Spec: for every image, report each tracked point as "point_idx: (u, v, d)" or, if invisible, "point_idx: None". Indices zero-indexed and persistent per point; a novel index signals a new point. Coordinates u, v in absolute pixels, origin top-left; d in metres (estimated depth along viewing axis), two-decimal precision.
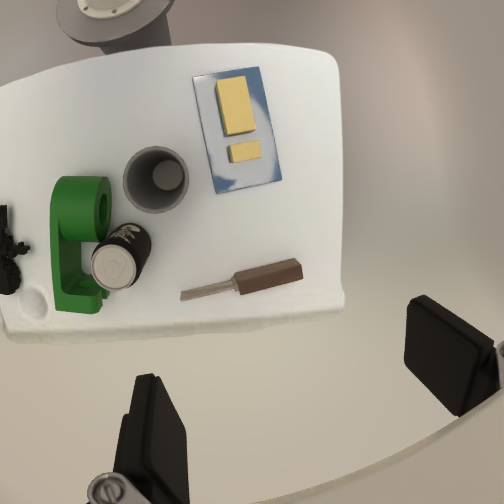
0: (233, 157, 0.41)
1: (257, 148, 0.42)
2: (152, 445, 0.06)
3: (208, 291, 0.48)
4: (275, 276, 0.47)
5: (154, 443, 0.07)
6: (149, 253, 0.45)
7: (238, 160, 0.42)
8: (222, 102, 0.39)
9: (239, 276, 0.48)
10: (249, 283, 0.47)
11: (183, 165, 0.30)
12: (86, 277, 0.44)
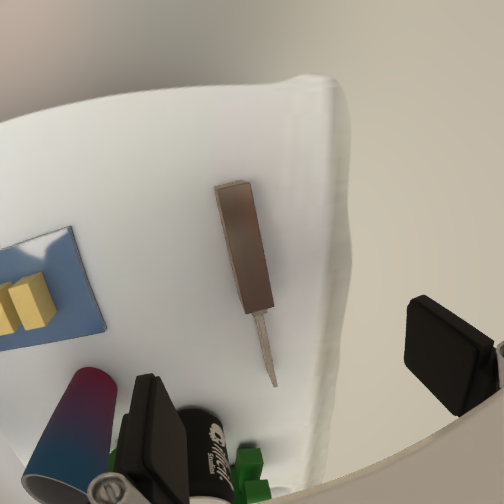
0: (39, 326, 0.21)
1: (18, 290, 0.20)
2: (152, 445, 0.06)
3: (264, 349, 0.27)
4: (240, 243, 0.23)
5: (154, 443, 0.07)
6: (201, 419, 0.29)
7: (40, 319, 0.21)
8: None
9: (240, 299, 0.26)
10: (251, 293, 0.24)
11: (30, 475, 0.13)
12: (237, 469, 0.32)
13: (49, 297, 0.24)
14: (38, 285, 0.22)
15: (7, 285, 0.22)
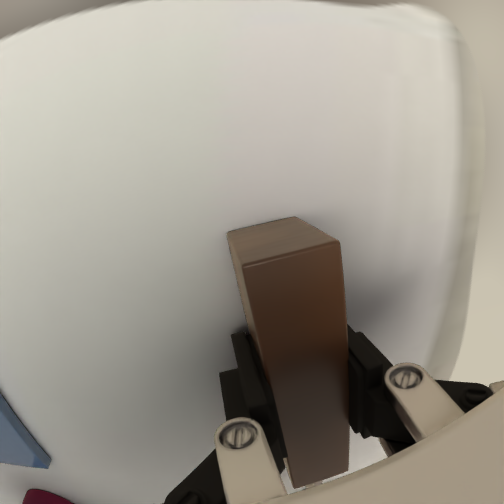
0: None
1: None
2: None
3: None
4: (298, 395, 0.08)
5: None
6: None
7: None
8: None
9: None
10: (311, 464, 0.09)
11: None
12: None
13: None
14: None
15: None
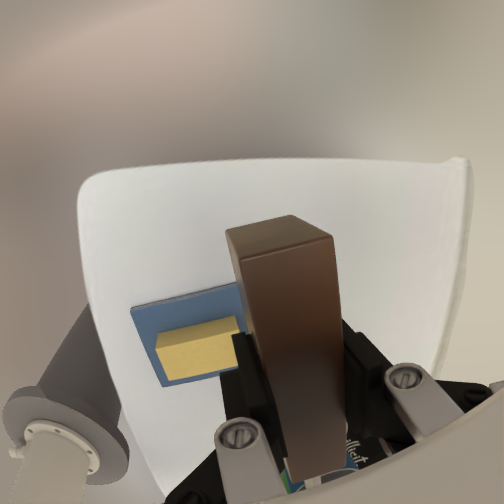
0: None
1: None
2: (270, 387, 0.08)
3: None
4: (295, 387, 0.09)
5: (269, 386, 0.08)
6: None
7: None
8: (201, 372, 0.29)
9: None
10: (309, 459, 0.10)
11: None
12: None
13: None
14: None
15: None
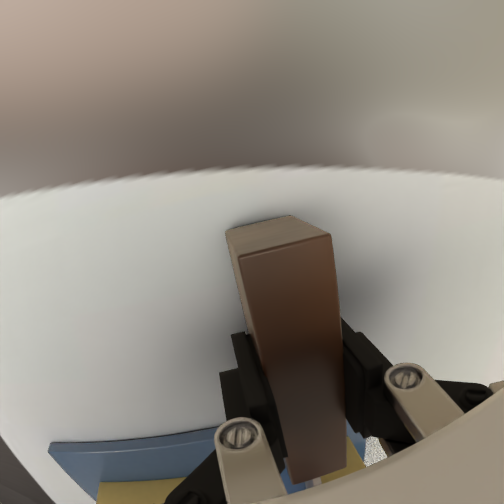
0: None
1: None
2: (270, 387, 0.08)
3: None
4: (294, 386, 0.09)
5: None
6: None
7: None
8: None
9: None
10: (309, 459, 0.10)
11: None
12: None
13: None
14: None
15: None
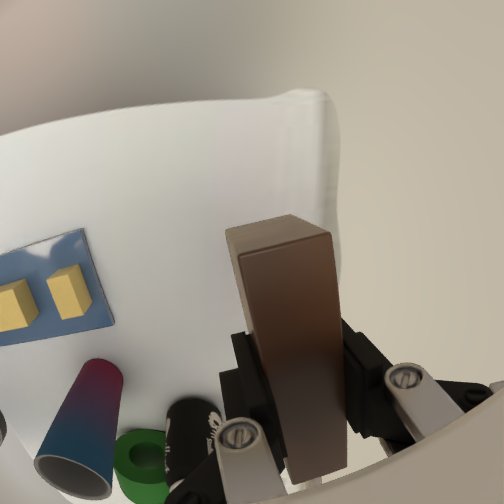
0: (76, 315, 0.25)
1: (58, 281, 0.23)
2: (269, 387, 0.08)
3: None
4: (295, 386, 0.09)
5: None
6: (201, 407, 0.31)
7: (79, 308, 0.24)
8: None
9: None
10: (309, 459, 0.10)
11: (44, 456, 0.15)
12: None
13: (85, 288, 0.27)
14: (76, 276, 0.25)
15: (22, 282, 0.25)
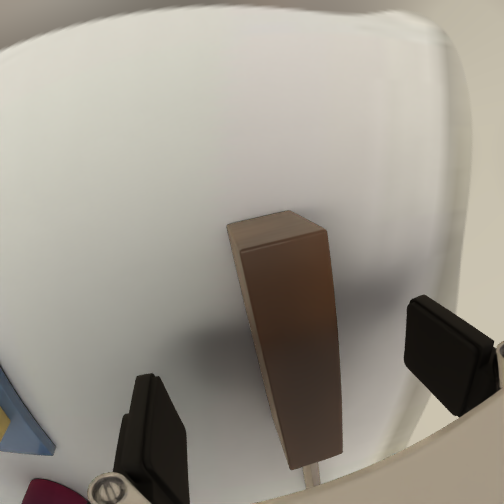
0: None
1: None
2: (152, 445, 0.06)
3: (311, 487, 0.13)
4: (292, 373, 0.09)
5: (154, 443, 0.07)
6: None
7: None
8: None
9: (279, 436, 0.12)
10: (306, 444, 0.10)
11: None
12: None
13: None
14: None
15: None
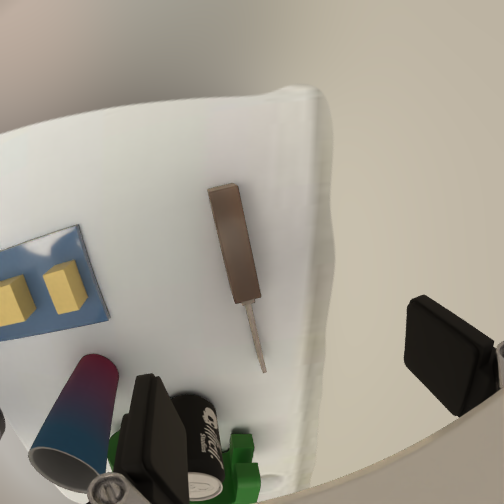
0: (72, 310, 0.25)
1: (53, 276, 0.24)
2: (152, 445, 0.06)
3: (254, 336, 0.30)
4: (229, 240, 0.26)
5: (154, 443, 0.07)
6: (196, 403, 0.32)
7: (74, 303, 0.25)
8: None
9: (231, 290, 0.29)
10: (240, 284, 0.27)
11: (37, 448, 0.16)
12: (230, 454, 0.35)
13: (81, 283, 0.27)
14: (72, 272, 0.25)
15: (19, 278, 0.25)
